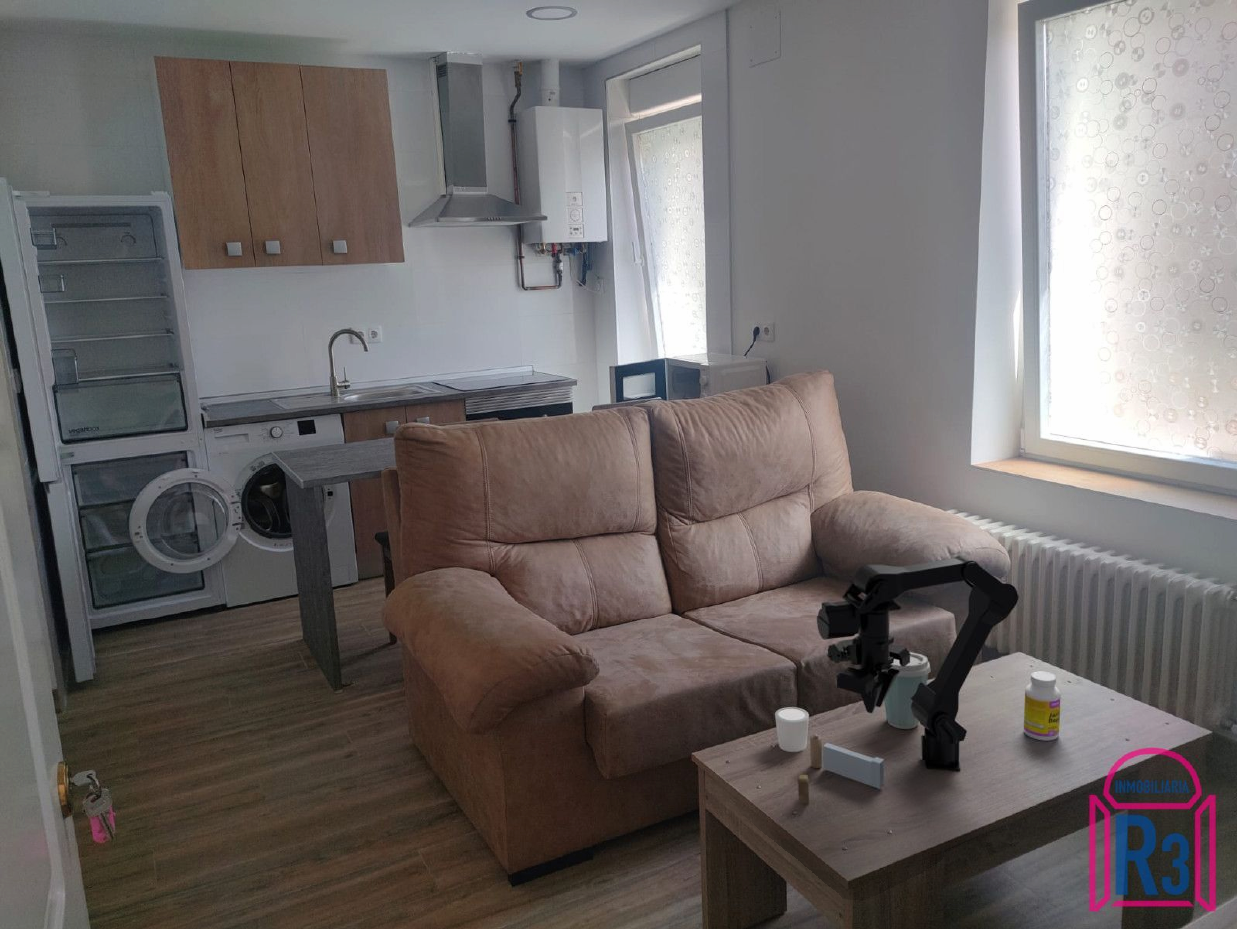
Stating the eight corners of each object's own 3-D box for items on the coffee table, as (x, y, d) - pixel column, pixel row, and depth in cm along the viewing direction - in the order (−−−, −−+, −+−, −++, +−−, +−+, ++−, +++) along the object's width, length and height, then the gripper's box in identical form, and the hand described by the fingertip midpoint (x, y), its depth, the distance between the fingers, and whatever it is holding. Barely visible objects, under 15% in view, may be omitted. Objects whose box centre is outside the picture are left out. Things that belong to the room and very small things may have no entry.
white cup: (809, 754, 188) (808, 722, 186) (775, 752, 189) (774, 721, 188) (809, 738, 194) (808, 707, 193) (776, 736, 196) (775, 705, 194)
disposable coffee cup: (867, 719, 201) (867, 654, 198) (903, 706, 206) (903, 643, 203) (904, 739, 192) (904, 671, 189) (941, 725, 197) (941, 658, 194)
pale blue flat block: (808, 765, 183) (808, 735, 182) (814, 761, 184) (814, 731, 183) (878, 790, 173) (878, 759, 171) (884, 785, 174) (884, 754, 173)
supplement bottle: (1050, 745, 186) (1052, 685, 184) (1017, 734, 191) (1019, 676, 188) (1064, 733, 190) (1067, 675, 188) (1032, 723, 195) (1034, 666, 193)
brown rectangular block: (808, 799, 172) (808, 774, 171) (808, 804, 170) (808, 779, 169) (799, 798, 172) (798, 774, 171) (798, 804, 170) (798, 779, 169)
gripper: (859, 610, 187) (859, 682, 190) (810, 638, 173) (811, 715, 176) (911, 621, 179) (911, 696, 182) (864, 652, 166) (864, 732, 169)
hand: (873, 709), depth 177 cm, fingers open, 3 cm apart
